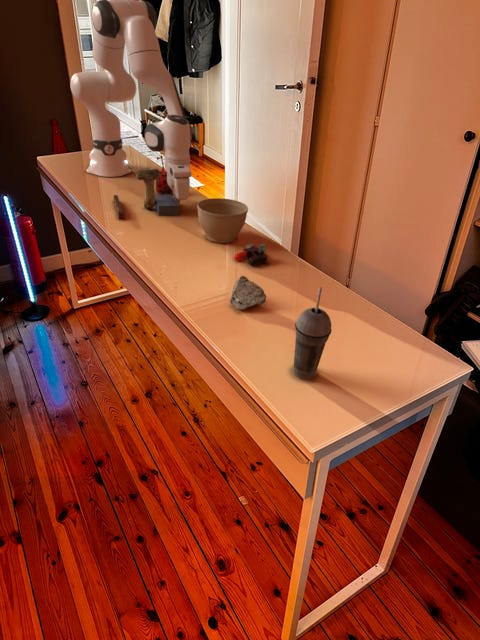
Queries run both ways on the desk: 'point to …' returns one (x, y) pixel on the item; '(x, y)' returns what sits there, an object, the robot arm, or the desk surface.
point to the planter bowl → (221, 218)
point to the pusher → (166, 205)
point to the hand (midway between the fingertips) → (177, 203)
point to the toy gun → (253, 254)
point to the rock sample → (246, 294)
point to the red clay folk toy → (163, 181)
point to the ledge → (118, 207)
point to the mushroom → (149, 185)
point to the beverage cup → (310, 340)
